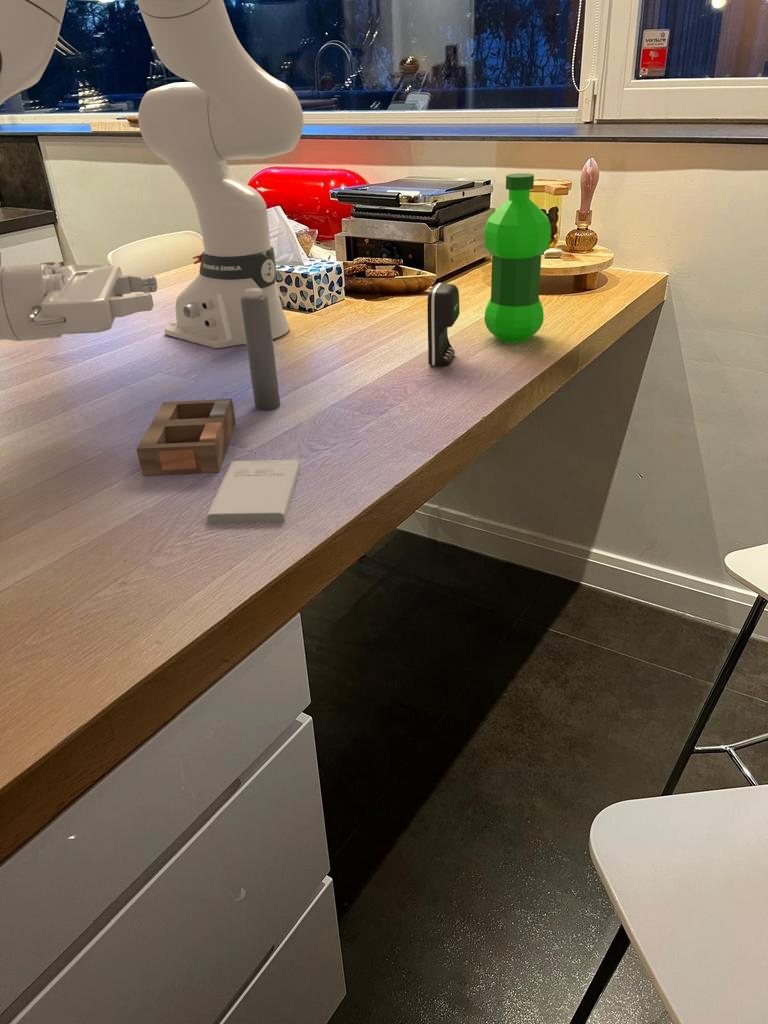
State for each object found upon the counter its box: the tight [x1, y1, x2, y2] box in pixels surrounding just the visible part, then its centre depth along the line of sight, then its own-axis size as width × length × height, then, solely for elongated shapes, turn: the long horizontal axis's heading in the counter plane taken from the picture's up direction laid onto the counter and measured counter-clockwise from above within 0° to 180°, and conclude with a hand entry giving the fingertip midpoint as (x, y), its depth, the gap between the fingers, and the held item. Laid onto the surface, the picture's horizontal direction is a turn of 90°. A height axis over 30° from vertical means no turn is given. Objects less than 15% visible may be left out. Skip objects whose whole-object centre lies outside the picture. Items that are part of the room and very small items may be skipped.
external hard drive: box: [206, 459, 301, 524], centre depth 87 cm, size 2×8×12 cm
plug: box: [241, 288, 281, 412], centre depth 104 cm, size 4×4×16 cm
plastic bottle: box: [483, 172, 552, 344], centre depth 123 cm, size 10×10×25 cm
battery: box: [427, 282, 460, 367], centre depth 118 cm, size 7×4×11 cm, turn 165°
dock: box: [136, 398, 237, 477], centre depth 97 cm, size 14×9×4 cm, turn 1°
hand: (154, 292), depth 98 cm, fingers open, 8 cm apart
